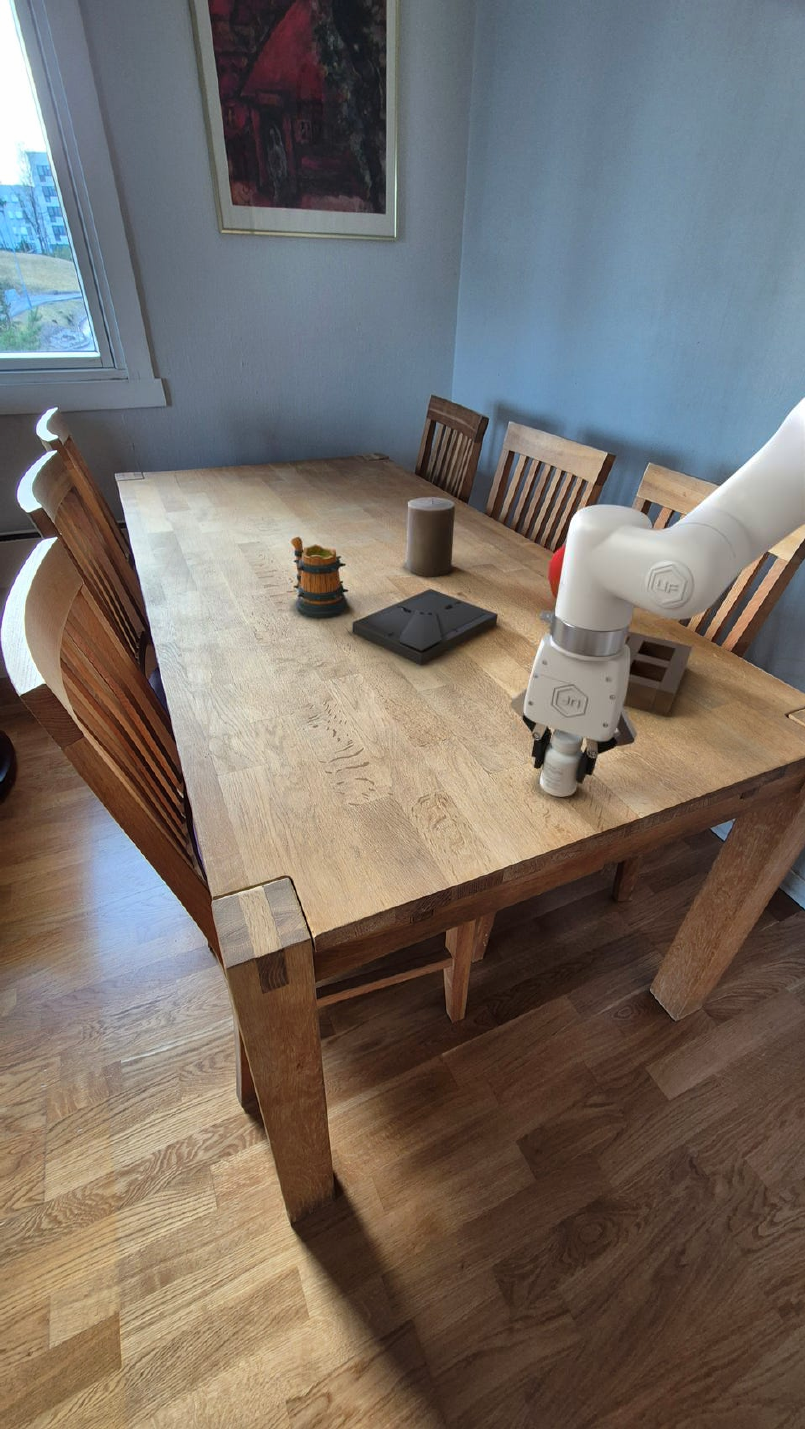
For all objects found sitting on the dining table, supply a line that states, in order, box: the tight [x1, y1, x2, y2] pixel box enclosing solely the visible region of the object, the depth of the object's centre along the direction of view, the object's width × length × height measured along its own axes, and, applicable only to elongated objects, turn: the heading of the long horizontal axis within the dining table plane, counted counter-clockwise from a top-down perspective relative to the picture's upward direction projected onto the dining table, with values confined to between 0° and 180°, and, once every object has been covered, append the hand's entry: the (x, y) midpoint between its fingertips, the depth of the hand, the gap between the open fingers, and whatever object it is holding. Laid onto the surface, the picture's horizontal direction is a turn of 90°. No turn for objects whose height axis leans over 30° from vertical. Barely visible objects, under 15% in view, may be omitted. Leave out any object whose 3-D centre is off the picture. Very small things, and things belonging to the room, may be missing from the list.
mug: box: [290, 536, 349, 619], centre depth 114 cm, size 13×10×12 cm
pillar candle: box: [405, 496, 456, 577], centre depth 130 cm, size 10×10×15 cm
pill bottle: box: [539, 729, 584, 798], centre depth 74 cm, size 4×4×8 cm
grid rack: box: [624, 630, 693, 718], centre depth 97 cm, size 16×16×4 cm
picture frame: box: [351, 588, 499, 666], centre depth 110 cm, size 16×3×21 cm
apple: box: [547, 544, 566, 601], centre depth 118 cm, size 9×9×12 cm
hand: (561, 768), depth 75 cm, fingers closed on pill bottle, 4 cm apart
